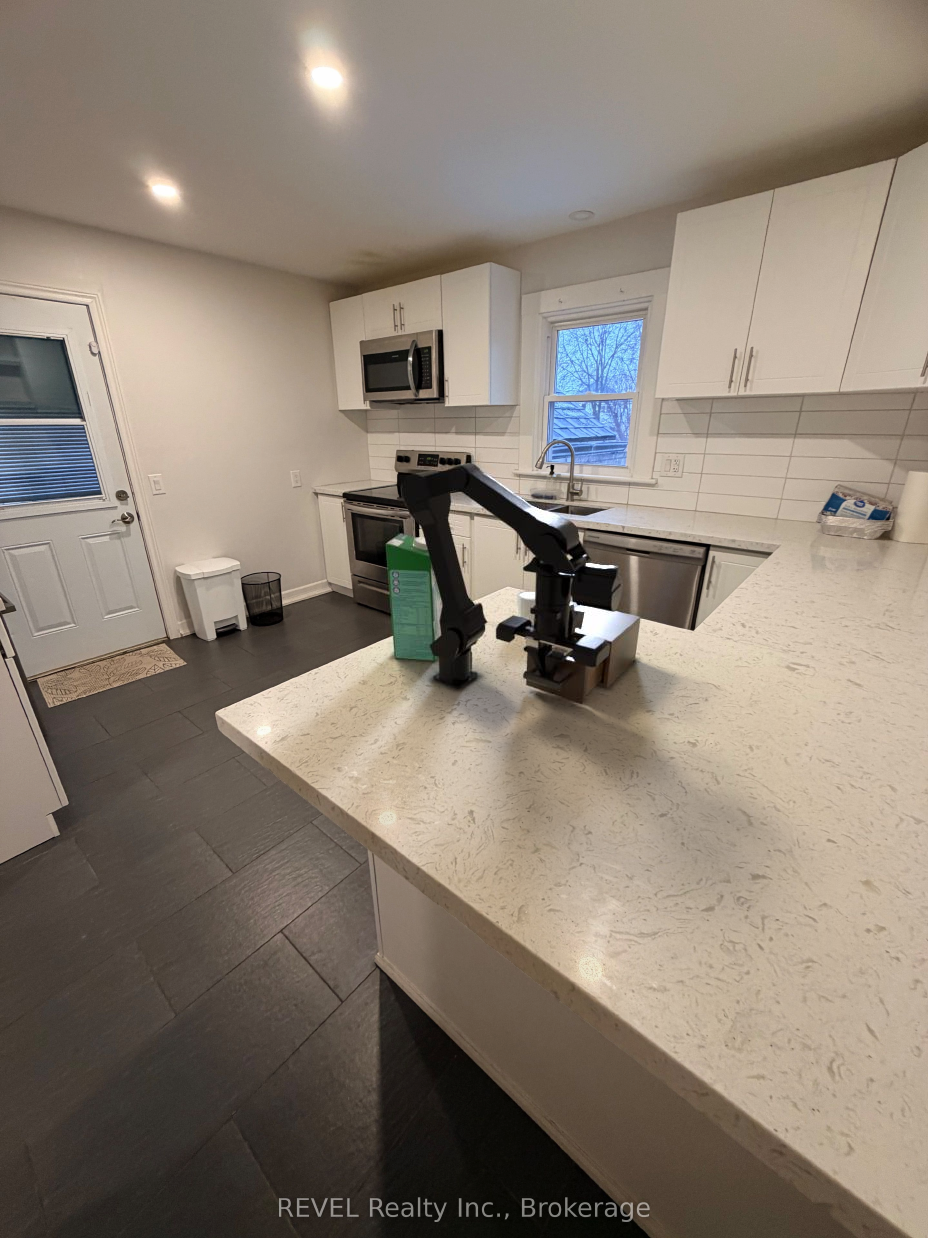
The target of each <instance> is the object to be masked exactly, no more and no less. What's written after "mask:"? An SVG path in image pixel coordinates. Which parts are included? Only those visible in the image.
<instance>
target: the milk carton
mask: <svg viewBox="0 0 928 1238" xmlns="http://www.w3.org/2000/svg"><path fill="white" fill-rule="evenodd" d="M385 553H386V568H387V580H388V592H389V605H390V616H391V617H390V619H391V630H392V642H393V643H392V644H393V645H392V646H393V655H394V656H393V657H394V658H396V659H407V660H421V661H422V660H423V661H430V662H431V661H436V660H437V658H438V657H437V656H434V655H433V654H432V651H431V648H430V644H431V643H433V642H434V641H435V640H436V639H437V638H438V637H440V636H441V630H440V622H439V621H440V615H441V609H442V600H441V597H440V593H439V589H438V586H437V582H436V578H435V575H434V571H433V568H432V564H431V560H430V557H429V553H428V549H427V546H426V542H425V538H424V537H415V536H412V535H407V534H404V533H399V534H397V535H396V536H395V537H393V538H392V539H390V540H389V541H388V542H386V543H385Z"/></svg>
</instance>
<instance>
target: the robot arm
mask: <svg viewBox="0 0 928 1238" xmlns="http://www.w3.org/2000/svg"><path fill="white" fill-rule="evenodd" d="M400 492H401V497H402V500H403V502H404V504H405V507H406V509H407V511H408V513H409V515H410V516H411V517H412V518H413V519H414V520H415V522H416V523H417V524H418V525H419V527H420V528H421V531H422V534H423V538H425V542H426V546H427V549H428V553H429V557H430V560H431V564H432V568H433V571H434V575H435V578H436V582H437V586H438V589H439V593H440V597H441V600H442V609H441V615H440V621H439V622H440V630H441V636H440V637H438V638H437V639H436V640H435V641H434V642H433V643H431V644H430V648H431V651H432V654H433V655H434V656H437V658H438V673H436V674H435V675H433V677H432V678H433V680H434V681H437V682H439V683H442V684H444V685H447V686H449V687H452V688H455V689H461V688H462V687H464V686H465V685H467V684H468V683H470V682H472V681H473V680H475V678H477V677H478V676H479V673H478V672H476V671H473V651H472V647H473V646H475V645H476V644H478V640H479V639H481V638H482V637H483V636H484V634H485V632H486V624H488V621H487V619H486V617H485V613H484V607H483V604H482V602H478V603H475V602H474V601H473V600H472V599H471V598H470V597H469V594H468V591H467V587H466V583H465V580H464V576H463V571H462V568H461V565H460V560H459V556H458V553H457V548H456V545H455V541H454V537H453V533H452V530H451V525H450V521H449V518H450V511H451V507H452V506H451V505H452V497H451V494H453V493H456V492H461V493H462V494H464V495H465V496H466V497H468V498H469V499H471V500H472V501H473V502H475V503H476V504H478V505H479V506H481V507H482V508H483V509H484V510H486V511H487V512H489V513H490V514H491V515H493V516H494V517H496V518H497V519H498V520H500V521H501V522H503V523H504V524H505V525H507V526H508V527H510V528H511V529H512V530H513V531H514V532H515V533H516V534H517V535H518V536H519V538H520V540H521V542H522V544H523V546H524V547H525V548H526V549H527V550H528V551H529V552H531V554H533V557H532V558H531V560H530V561H529V562H528V563H527V564H526V565H524V566H523V567H522V570H523V571H524V572H526V573H527V572H529V573H534V574H535V582H534V583H535V585H534V588H535V589H534V591H535V605H534V606H532V607H531V608H530V613H531V614H534V626H532V622H531V621H530V620H529V619H526V618H522V617H518V615H514V614H513V615H511V616H509V617H507V618H506V619H504V620H503V621H500V622H499V623H498V624H497V625H496V628H495V639H496V640H498V641H502V642H505V643H508V644H510V643H511V642H512V641H514V640H515V638H516V636H519V637H522V638H524V640H525V646H524V647H523V652H525V653H526V654H527V653H528V654H529V656H530V657H531V659H532V661H533V662H534V664H535V666H536V667H537V669H538V671H539V674H540V676H543V677H546V678H549V679H552V680H553V678H554V676H555V674H556V672H557V670H558V668H559V666H560V664H561V662H562V661H564V660H565V659H566V658H567V657H569V656H570V655H571V654H572V658H573V660H574V661H575V662H576V663H578V664H582V665H585V666H588V667H596V666H598V665H599V664H600V663H601V662H602V661H603V660H604V659H605V658H606V657H607V656H608V655H609V651H610V645H609V643H608V641H607V639H603V638H599V637H595V636H592V635H588V634H587V635H586V636H584V637H583V638H582V639H580V640H576V638H574V637H571V636H568V634H569V633H570V634H573V633H574V632H575V628H579V629H582V624H583V620H584V616H585V612H584V611H580V610H576V608H575V604H576V605H577V606H578V607H579V606H584V607H590V608H595V609H601V610H606V611H612V612H615V611H617V609H618V608H619V604H620V603H621V602H620V601H621V598H622V593H623V587H624V584H623V583H622V581H623V579H622V574H621V567H620V566H619V565H613V564H611V565H610V564H609V565H604V564H596V563H591V562H592V558H591V556H590V555H589V553H588V551H587V549H586V548H585V547H584V544H583V543H582V542H581V540H580V534H579V528H578V527H577V525H576V524H575V523H574V522H573V521H571V520H569V519H567V518H565V517H563V516H560V515H557V514H556V513H553V512H550V511H546V510H543V509H539V508H537V507H535V506H533V505H531V504H530V503H528V502H527V501H526V500H524V499H522V497H520V496H519V495H517V494H516V493H515V492H512V491H511V490H510V489H508V488H507V487H506V486H504V485H503V484H501V483H499V482H498V481H497V480H495V479H494V478H492V477H491V476H490V475H488V474H487V473H486V472H484V471H482V470H481V469H480V468H479V466H478V465H476V464H474V463H473V462H471V463H470V462H468V463H463V464H457V465H455V466H453V467H451V468H449V469H445V470H442V471H439V470H428V471H421V472H416V473H411V474H409V475H407V476H406V477H405V478H404V480H403V482H402V484H401V486H400ZM568 556H570V557H571V558H570V559H569V557H568ZM571 601H572V602H571ZM574 603H575V604H574ZM551 650H552V651H551Z"/></svg>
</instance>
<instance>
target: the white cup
mask: <svg viewBox="0 0 928 1238" xmlns="http://www.w3.org/2000/svg"><path fill="white" fill-rule="evenodd" d="M515 596H516V608H517V609H516V610H517V616H518V617H522V618H526V619H529V620H530V621H531V622H532V627H534V614H531V613H530V608H531V607H532V606H534V605H535V590H522V591H519V592H517V593H516V595H515Z"/></svg>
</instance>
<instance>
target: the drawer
mask: <svg viewBox="0 0 928 1238" xmlns="http://www.w3.org/2000/svg"><path fill="white" fill-rule="evenodd" d="M568 636H571V637H574V638H576V640H580V639H582V638H581V637H577V636H573V635H570V634H568ZM551 651H552V650H551ZM605 663H606V658H605V659H604V660H603V661H602V662H601V663H600V664H599V665H598V666H596V667H588V666H585V665H582V664H578V663H576V662H575V661H574V660H573V658H572V654H571V655H570V656H569V657H567V658H566V659H565V660H564V661H562V662H561V664H560V666H559V668H558V670H557V672H556V674H555V676H554V678H553V680H552V679H549V678H546V677H543V676H540V674H539V671H538V669H537V667H536V666H535V664H534V662H533V661H532V659H531V657H530V656H529V654H528V653H527V652H526V670H525V671H524V672H523V674H522V679H524V680H525V685H526V686H527V687H530V688H533V689H536V690H539V691H541V692H545V693H547V694H549V695H553V696H556V697H559V698H562V699H565V700H567V701H571V702H573V703H575V704H579V705H584V704H585V703H586V697H587V695H588V694H589V693H590V692H591V691H592V690H593V689H594V688H595V687H596V686H598V685H597V684H598V683H599V682H600V681H601V680H602V679H603V678H604V673H605Z"/></svg>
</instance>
